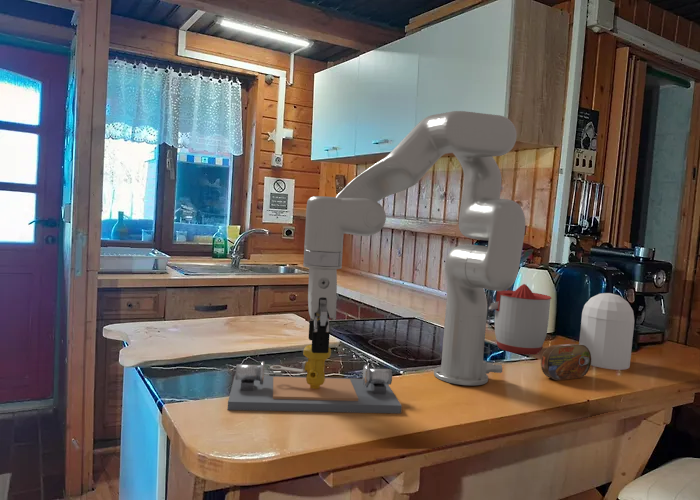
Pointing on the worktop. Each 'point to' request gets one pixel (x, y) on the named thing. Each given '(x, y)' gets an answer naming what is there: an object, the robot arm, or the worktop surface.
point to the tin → (566, 361)
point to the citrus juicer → (521, 320)
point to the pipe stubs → (369, 377)
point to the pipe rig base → (312, 396)
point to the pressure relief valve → (311, 367)
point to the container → (608, 331)
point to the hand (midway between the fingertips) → (318, 346)
